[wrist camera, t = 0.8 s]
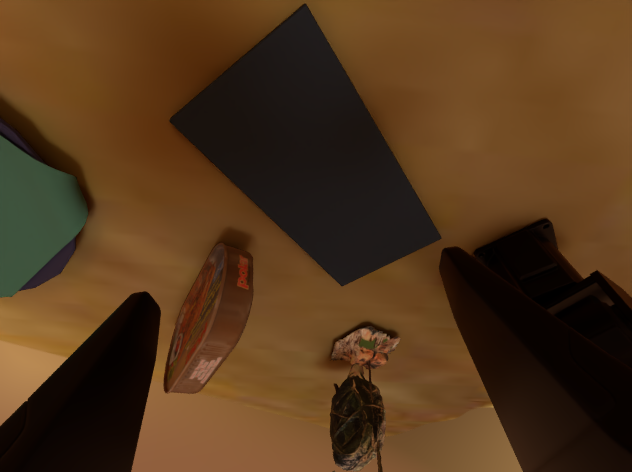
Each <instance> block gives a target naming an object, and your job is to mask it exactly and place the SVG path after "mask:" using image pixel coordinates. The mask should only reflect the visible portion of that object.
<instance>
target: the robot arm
mask: <svg viewBox="0 0 632 472" xmlns="http://www.w3.org/2000/svg"><path fill="white" fill-rule="evenodd" d="M474 255H475V257H476V259H477V260H476V259H475V258H473V257H472V256H471V255H469V254H468V253H467V252H465V251H464V250H462V249H461V248H459V247H457V246H454V247H447V248H444V249H443V250H442V255H441V260H440V266H439V270H440V275H441V278H442V281H443V285H444V288H445V291H446V294H447V297H448V300H449V304H450V307H451V310H452V313H453V316H454V319H455V321H456V324H457V326H458V328H459V331H460V333H461V335H462V337H463V339H464V342H465V344H466V346H467V348H468V351H469V353H470V355H471V357H472V359H473V362H474V364H475V366H476V368H477V371H478V373H479V375H480V377H481V379H482V382H483V384H484V386H485V388H486V391H487V393H488V395H489V397H490V399H491V402H492V404H493V406H494V408H495V410H496V413H497V415H498V417H499V419H500V422H501V424H502V426H503V428H504V431H505V433H506V435H507V437H508V439H509V441H510V444H511V446H512V448H513V450H514V453H515V455H516V457H517V459H518V462H519V464H520V466H521V468H522V470H523V472H632V298H631V297H630V296H629V295H628V294H627V293H626V292H625V291H624V290H623V289H622V288H621V287H619V286H618V285H617V284H615V283H614V282H613V281H611V280H610V279H609V278H607V277H606V276H604V275H603V274H602V273H600V272H599V271H598V270H597V271H595V272H593V273H591V274H590V276H589V277H587V278H585V279H583V278H582V277H581V275H580V274H579V273H578V272H577V271H576V270H575V269H574V268H573V266H572V265H571V264H570V263H569V262H568V261H567V260H566V259H565V257H564V256H563V255H562V254H561V253H560V252H559V251H558V247H557V243H556V238H555V234H554V229H553V225H552V223H551V222H550V221H549V220H548V219H544V220H541V221H539V222H537V223H535V224H532V225H530V226H528V227H526V228H524V229H521V230H519V231H517V232H515V233H513V234H510V235H508V236H506V237H504V238H502V239H499V240H497V241H495V242H493V243H490V244H488V245H486V246H484V247H482V248H479V249H477V250H476V251H475V252H474ZM160 317H161V310H160V307H159V305H158V304H157V303H156V302H155V300H154V299H153V298H152V296H151V295H150V294H149V293H148V292H138V293H133V294H131V295H130V296H129V297H128V298H127V299H126V300H125V301H124V302H123V303H122V304H121V305H120V306H119V307H118V308H117V309H116V310H115V311H114V312H113V313H112V314H111V315H110V316H109V317H108V318H107V319H106V320H105V321H104V322H103V323H102V324H101V325H100V327H99V328H98V329H97V330H96V331H95V332H94V333H93V334H92V335H91V336H90V337H89V338H88V339H87V340H86V341H85V342H84V343H83V344H82V345H81V346H80V347H79V348H78V349H77V350H76V351H75V352H74V353H73V354H72V355H71V356H70V357H69V358H68V359H67V360H66V361H65V362H64V363H63V364H62V365H61V366H60V367H59V368H58V369H57V370H56V371H55V372H54V373H53V374H52V375H51V376H50V377H49V378H48V379H47V380H46V381H45V382H44V383H43V384H42V385H41V386H40V387H39V388H38V389H37V390H36V391H35V392H34V393H33V394H32V395H31V396H30V397H29V398H28V401H25V402H24V403H23V404H22V405H21V406H20V407H19V408H18V409H17V410H16V411H15V412H14V413H13V414H12V415H11V416H10V417H9V418H8V419H7V420H6V421H5V422H4V423H3V424H2V425H1V426H0V472H131V470H132V465H133V460H134V456H135V451H136V447H137V442H138V438H139V433H140V429H141V424H142V420H143V415H144V411H145V406H146V402H147V397H148V393H149V388H150V384H151V379H152V375H153V370H154V366H155V361H156V354H157V345H158V335H159V326H160Z"/></svg>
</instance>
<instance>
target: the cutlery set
mask: <svg viewBox="0 0 632 472" xmlns="http://www.w3.org/2000/svg"><path fill="white" fill-rule="evenodd" d="M87 216H88V208H87V203H86V201H85V199H84V196H83V194H82V192H81V189H80V187H79V184H78V182H77V178H76V177H74V176H73V175H70V174H67V173H64V172H61V171H59V170H56V169H54V168H51V167H49V166H47V165H46V164H45V163H44V162H43V160H42V159H41V158H40V157H39V156H38V155H37V153H36V152H35V151H34V150H33V149H32V148H31V146H30V145H29V144H28V143H27V142H26V141H25V139H24V138H23V137H22V136H21V135H20V134H19V133H18V131H17V130H15V129H14V128H13V127H12V126H10V125H9V124H8V123H7V122H5V121H4V120H3V119H1V118H0V297H12V296H13V295H14V294H15V293H16V292H17V291H21V290H26V289H31V288H35V287H37V286H39V285H41V284H42V283H44V282H46V281H48V280H49V279H51V278H53V277H55V276H57V275H58V274H60V273H61V272H62V270H63V269H64V267H65V266H66V264H67V262H68V261H69V259H70V258H71V256H72V254H73V253H74V251H75V249H76V235H77V234H78V233H79V232H80V230H81V229H82V227H83V226H84V224H85V223H86V219H87Z"/></svg>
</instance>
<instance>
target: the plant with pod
mask: <svg viewBox="0 0 632 472" xmlns="http://www.w3.org/2000/svg"><path fill="white" fill-rule="evenodd" d="M374 329H375V328H373V327H372V326H368V327H363V328H361V329H359V330H356V331H353V332H352V333H351V334H350V335H348V336H347V337H345V338H343V339H344V340H339V341H340V342H338V341H337V342H336V343H335V344H334V345H335V346H333V347H334V348H333V349H334V352H333V354H331V355H332V357H333V358H332V357H331V358H332V359H331V360H333V361H334V360H338V359H340V360H346V361H351V364H352V367H351V370H350V372H349V375H348V377H347V379H346V380H345V381H344V382H343V383H342V384H341V386H340V388H339V387H338V385H337V384H334V386H335V389H336V394H335V395H334V396H333V398H332V406H331V413H330V417H331V422H330V437H331V439H332V449H333V457H334V461H335V464H336V465H338V466H339V467H341V468H342V469H343V470H347V471H360V470H361V469H362V468H363V467H364V466H366V465H367V464H369V463H370V461H371V460H373V459H374V458H376V457H377V460H378V462H377V464H378V472H382V466H381V456H380V451H381V450H382V446H383V442H384V438H385V413H386V411H385V409H384V405H383V403H382V402H383V399H382V397H381V395H380V391H379V389H378V387H377V386H375V385H374V384H372V382H371V370H370V369H375V368H378V367H380V366H382V365H384V364H385V363H386V362H387V361H388V355H387V354H388V353H390V352H391V351H394V350H395V347H396V346H397V345H396V344H399V341H400V340H401V339H400V338H398V337H395V338H392V339H390V335H389V336H388V337H387V338H386V335H387V334H382V333H383V331H379V330H378V331H376V330H374ZM331 360H330V361H331ZM363 366H365V367H366V369H369V381H367V380H365V378H364V376H363V374H364V372H363ZM333 472H335V471H333Z"/></svg>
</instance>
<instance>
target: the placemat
mask: <svg viewBox="0 0 632 472" xmlns="http://www.w3.org/2000/svg"><path fill="white" fill-rule="evenodd" d="M169 121H170V123H172V124H173V125H174V126H175V127H176V128H177V129H178V130H179V131H180V132H181V133H182V134H183V135H184V136H185V137H186V138H187V139H188V140H189V141H190V142H191V143H192V144H193V145H195V146H196V147H197V148H198V149H199V150H200V151H201V152H202V153H203V154H204V155H205V156H206V157H207V158H208V159H209V160H210V161H211V162H212V163H213V164H214V165H215V166H217V167H218V168H219V169H220V170H221V171H222V172H223V173H224V174H225V175H226V176H227V177H228V178H229V179H230V180H231V181H232V182H233V183H234V184H235V185H236V186H237V187H239V188H240V189H241V190H242V191H243V192H244V193H245V194H246V195H247V196H248V197H249V198H250V199H251V200H252V201H253V202H254V203H255V204H256V205H257V206H258V207H259V208H260V209H262V210H263V211H264V212H265V213H266V214H267V215H268V216H269V217H270V218H271V219H272V220H273V221H274V222H275V223H276V224H277V225H278V226H279V227H280V228H281V229H282V230H284V231H285V232H286V233H287V234H288V235H289V236H290V237H291V238H292V239H293V240H294V241H295V242H296V243H297V244H298V245H299V246H300V247H301V248H302V249H303V250H304V251H305V252H307V253H308V254H309V255H310V256H311V257H312V258H313V259H314V260H315V261H316V262H317V263H318V264H319V265H320V266H321V267H322V268H323V269H324V270H325V271H326V272H327V273H329V274H330V275H331V276H332V277H333V278H334V279H335V280H336V281H337V282H338V283H339V284H340V285H341V286H344V285H346V284H348V283H350V282H352V281H354V280H356V279H358V278H361V277H363V276H365V275H367V274H369V273H371V272H373V271H375V270H377V269H379V268H381V267H383V266H385V265H388V264H390V263H392V262H394V261H396V260H398V259H400V258H402V257H404V256H406V255H408V254H410V253H412V252H415V251H417V250H419V249H421V248H423V247H425V246H427V245H429V244H431V243H433V242H435V241H437V240H440V239H441V236H440V234H439V233H438V231H437V229H436V227H435V226H434V224H433V222H432V221H431V219H430V217H429V215H428V214H427V212H426V210H425V208H424V207H423V205H422V203H421V202H420V200H419V198H418V196H417V195H416V193H415V191H414V190H413V188H412V186H411V184H410V183H409V181H408V179H407V177H406V176H405V174H404V172H403V171H402V169H401V167H400V165H399V164H398V162H397V160H396V158H395V157H394V155H393V153H392V152H391V150H390V148H389V146H388V145H387V143H386V141H385V139H384V138H383V136H382V134H381V133H380V131H379V129H378V127H377V126H376V124H375V122H374V120H373V119H372V117H371V115H370V114H369V112H368V110H367V108H366V107H365V105H364V103H363V101H362V100H361V98H360V96H359V95H358V93H357V91H356V89H355V88H354V86H353V84H352V82H351V81H350V79H349V77H348V76H347V74H346V72H345V70H344V69H343V67H342V65H341V63H340V62H339V60H338V58H337V57H336V55H335V53H334V51H333V50H332V48H331V46H330V45H329V43H328V41H327V39H326V38H325V36H324V34H323V32H322V31H321V29H320V27H319V26H318V24H317V22H316V20H315V19H314V17H313V15H312V13H311V12H310V10H309V8H308V7H307V5H306V4H304V5H303V6H301V7H300V8H299V9H298V10H297V11H295V12H294V13H293V14H292V15H291V16H290V17H288V18H287V19H286V20H285V21H284V22H283V23H281V24H280V25H279V26H278V27H277V28H276V29H274V30H273V31H272V32H271V33H270V34H269V35H267V36H266V37H265V38H264V39H263V40H261V41H260V42H259V43H258V44H257V45H256V46H254V47H253V48H252V49H251V50H250V51H249V52H247V53H246V54H245V55H244V56H243V57H242V58H240V59H239V60H238V61H237V62H236V63H235V64H233V65H232V66H231V67H230V68H229V69H228V70H226V71H225V72H224V73H223V74H222V75H220V76H219V77H218V78H217V79H216V80H215V81H213V82H212V83H211V84H210V85H209V86H208V87H206V88H205V89H204V90H203V91H202V92H201V93H199V94H198V95H197V96H196V97H195V98H194V99H192V100H191V101H190V102H189V103H188V104H187V105H185V106H184V107H183V108H182V109H181V110H179V111H178V112H177V113H176V114H175V115H174V116H172V117H171V119H170V120H169Z"/></svg>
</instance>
